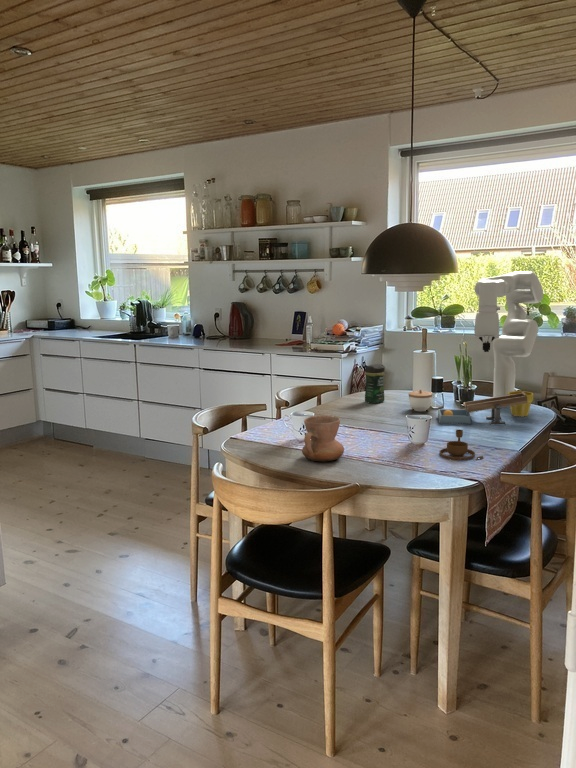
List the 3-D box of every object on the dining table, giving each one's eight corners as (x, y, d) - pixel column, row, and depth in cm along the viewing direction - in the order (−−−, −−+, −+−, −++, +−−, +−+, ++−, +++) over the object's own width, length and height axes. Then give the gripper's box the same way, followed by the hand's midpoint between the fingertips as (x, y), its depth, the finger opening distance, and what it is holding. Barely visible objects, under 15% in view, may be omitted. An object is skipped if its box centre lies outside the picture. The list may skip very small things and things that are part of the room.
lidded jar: (430, 407, 291) (431, 387, 289) (433, 412, 280) (434, 392, 279) (407, 407, 292) (407, 387, 290) (409, 412, 281) (409, 392, 280)
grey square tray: (437, 417, 272) (438, 409, 271) (466, 417, 270) (467, 409, 269) (440, 423, 260) (440, 415, 259) (470, 424, 258) (470, 416, 257)
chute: (463, 404, 275) (462, 396, 274) (520, 395, 270) (519, 387, 270) (467, 412, 260) (466, 404, 259) (527, 403, 255) (526, 394, 255)
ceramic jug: (322, 449, 228) (320, 411, 225) (354, 455, 218) (353, 416, 216) (289, 462, 215) (287, 422, 212) (322, 469, 205) (321, 427, 202)
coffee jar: (374, 404, 299) (374, 366, 296) (362, 402, 305) (362, 364, 301) (387, 401, 305) (387, 364, 302) (375, 399, 311) (375, 362, 308)
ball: (454, 413, 266) (447, 419, 267) (447, 407, 266) (440, 413, 267) (455, 415, 262) (448, 422, 263) (448, 409, 262) (441, 415, 263)
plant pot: (503, 412, 277) (504, 391, 275) (526, 412, 277) (527, 390, 275) (512, 418, 266) (513, 395, 265) (536, 417, 267) (537, 395, 265)
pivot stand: (486, 417, 268) (486, 399, 266) (500, 418, 267) (501, 399, 266) (490, 424, 257) (490, 405, 255) (505, 424, 256) (506, 405, 254)
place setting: (425, 455, 219) (425, 439, 218) (456, 444, 232) (456, 428, 231) (469, 466, 206) (470, 448, 205) (500, 453, 220) (500, 436, 219)
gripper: (503, 309, 274) (502, 350, 277) (468, 309, 276) (467, 350, 280) (507, 310, 267) (505, 352, 270) (470, 310, 269) (469, 352, 272)
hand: (486, 351), depth 275 cm, fingers closed
